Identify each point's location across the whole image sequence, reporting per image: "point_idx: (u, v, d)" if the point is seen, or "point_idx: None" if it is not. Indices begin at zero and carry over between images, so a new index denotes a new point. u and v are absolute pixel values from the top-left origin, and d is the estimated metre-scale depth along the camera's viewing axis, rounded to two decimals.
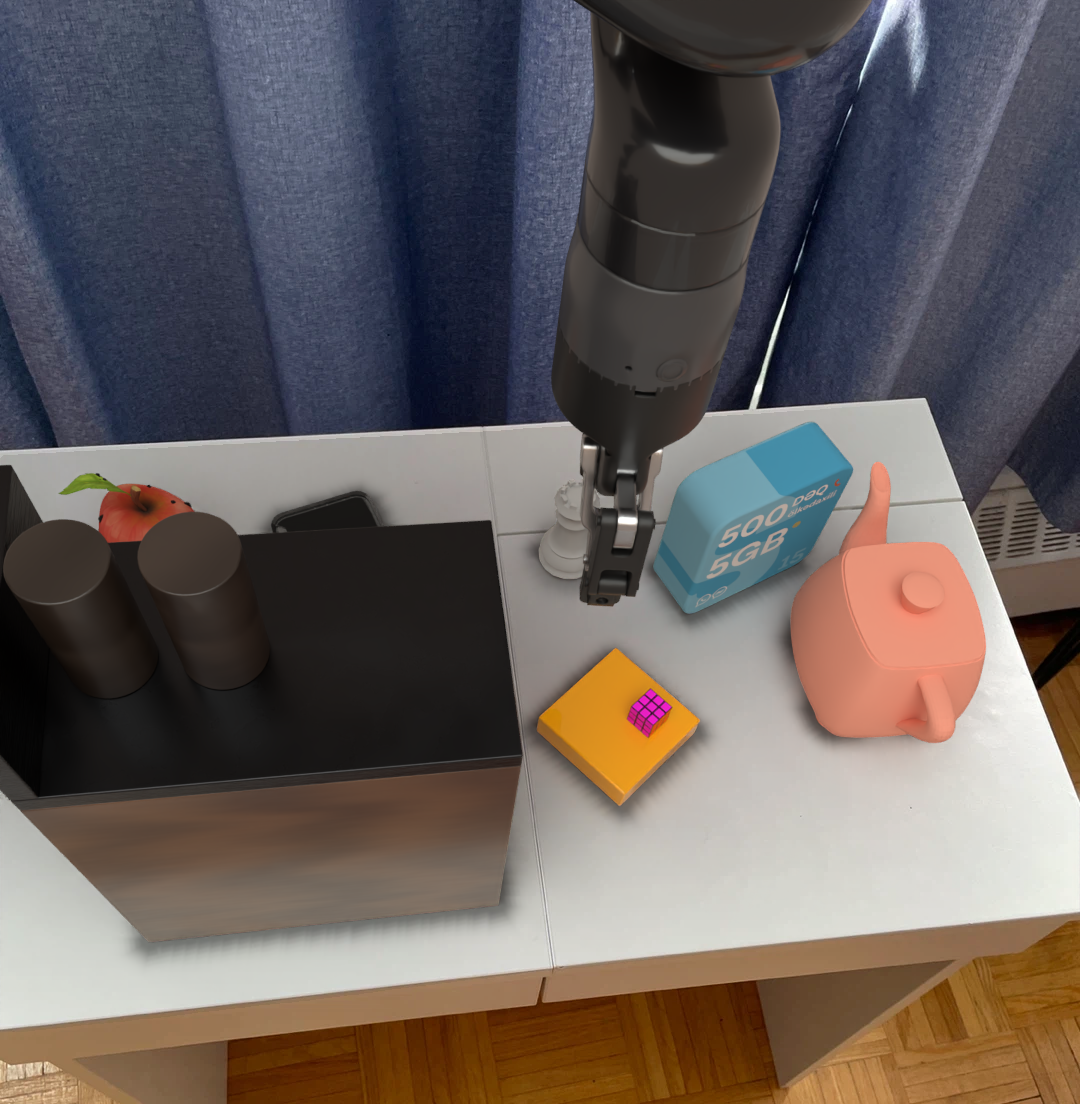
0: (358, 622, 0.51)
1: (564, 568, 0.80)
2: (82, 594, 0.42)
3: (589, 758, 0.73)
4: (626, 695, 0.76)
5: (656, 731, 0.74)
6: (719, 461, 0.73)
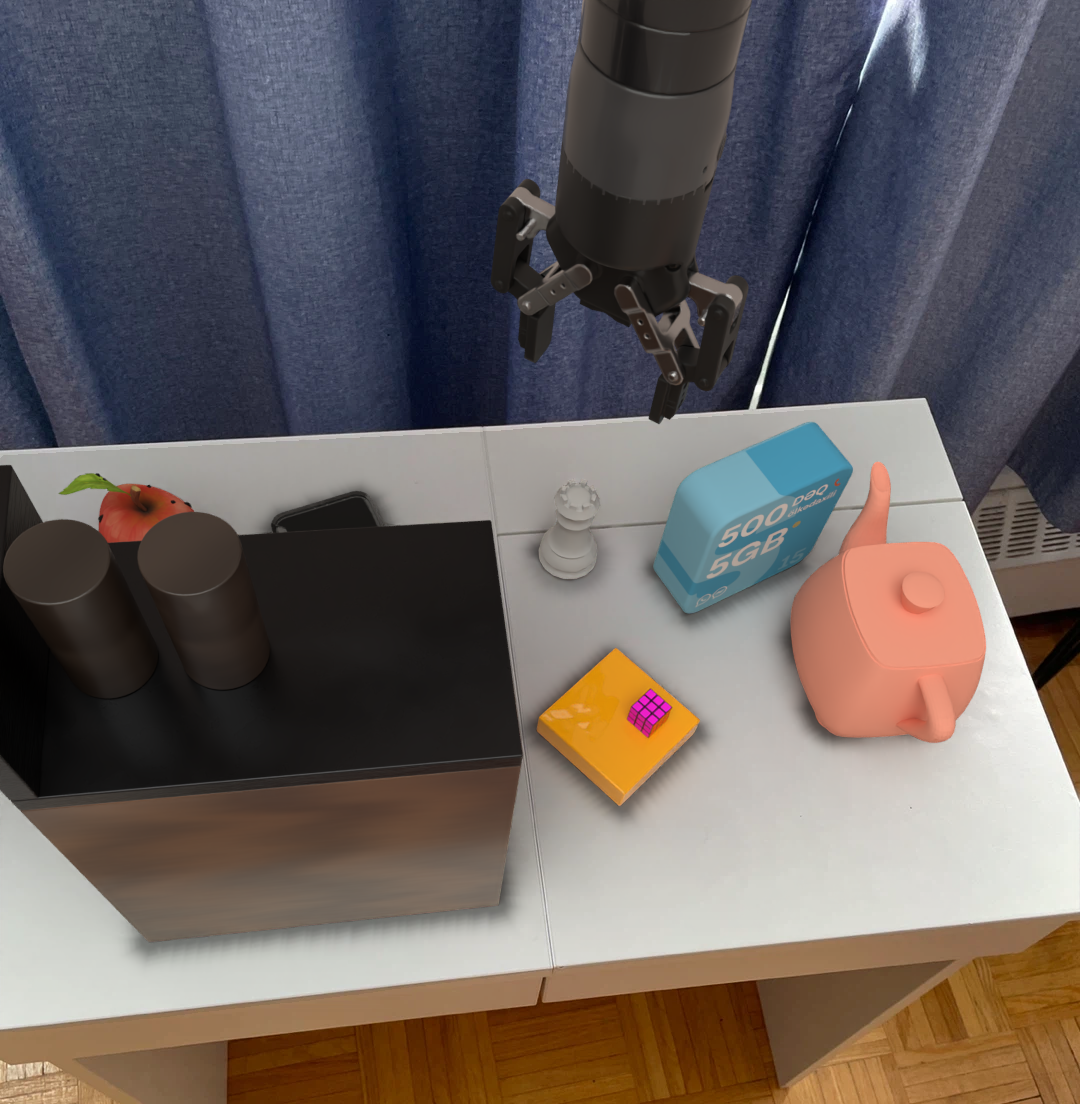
0: (358, 622, 0.51)
1: (564, 568, 0.80)
2: (82, 594, 0.42)
3: (589, 758, 0.73)
4: (625, 695, 0.76)
5: (656, 731, 0.74)
6: (719, 461, 0.73)
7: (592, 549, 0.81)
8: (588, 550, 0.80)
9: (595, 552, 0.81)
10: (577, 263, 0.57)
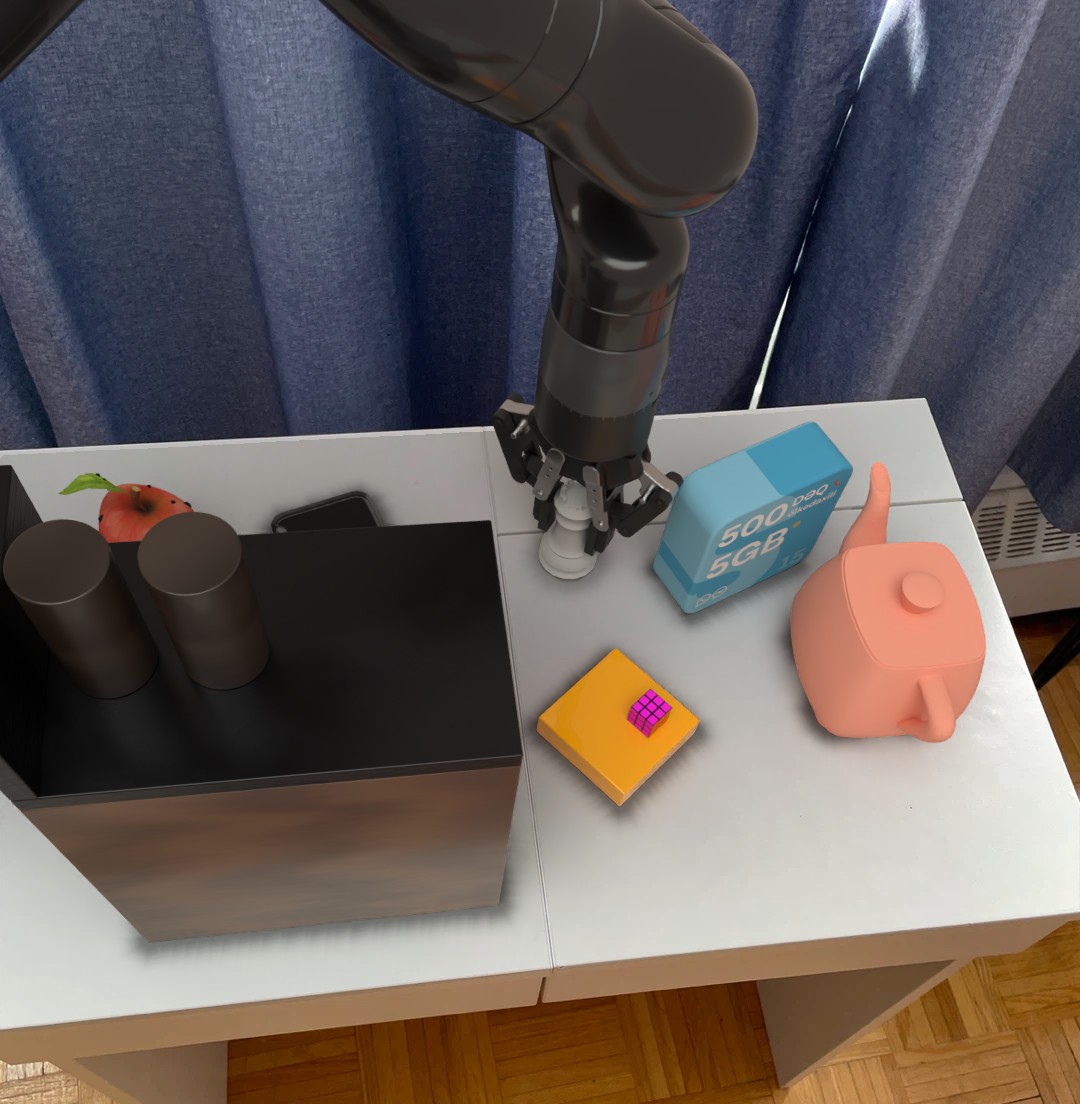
0: (358, 622, 0.51)
1: (564, 568, 0.80)
2: (82, 594, 0.42)
3: (589, 758, 0.73)
4: (625, 695, 0.76)
5: (656, 731, 0.74)
6: (719, 461, 0.73)
7: None
8: None
9: None
10: (552, 447, 0.70)
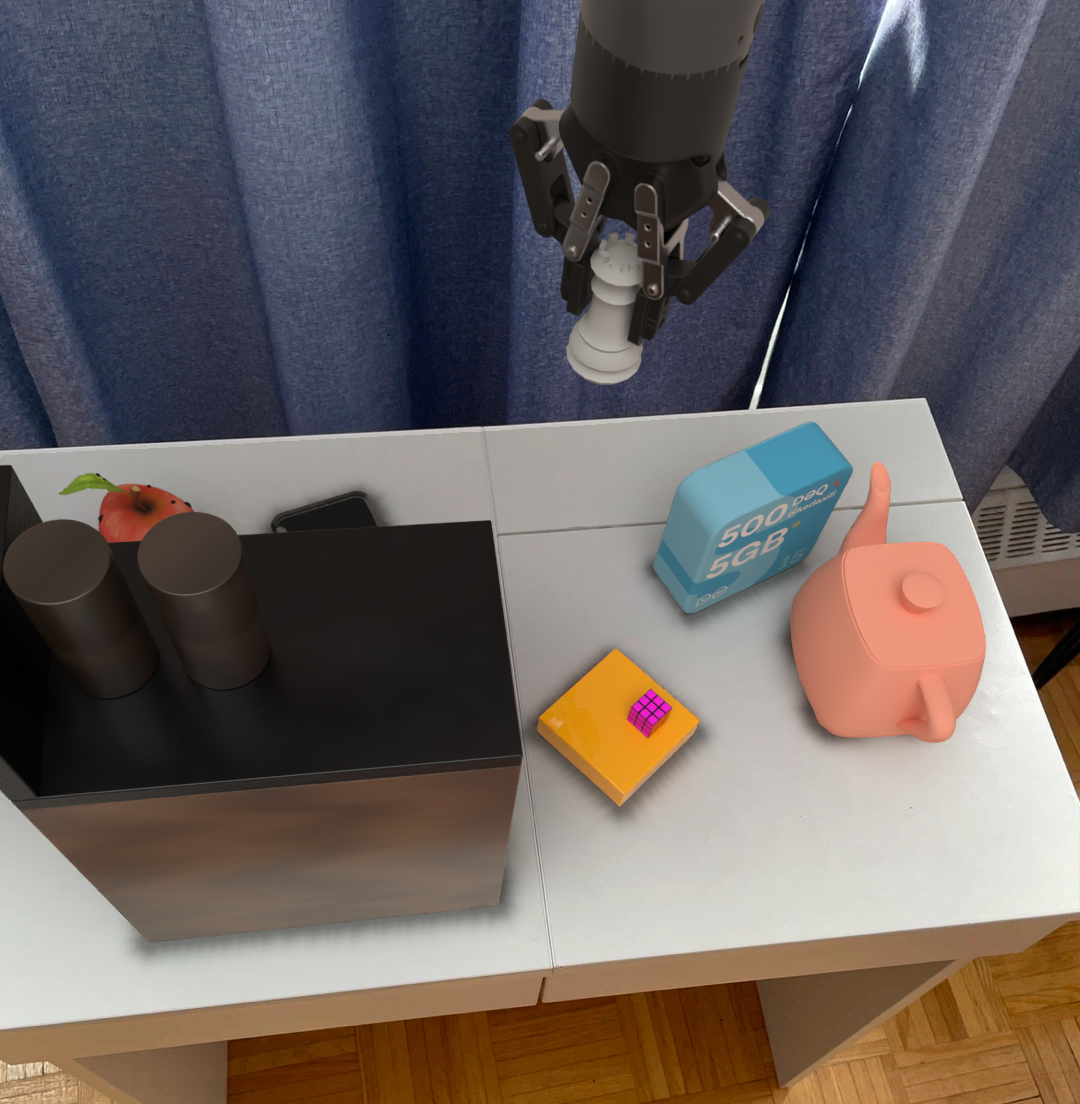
0: (358, 622, 0.51)
1: (601, 366, 0.62)
2: (82, 594, 0.42)
3: (589, 758, 0.73)
4: (625, 695, 0.76)
5: (656, 731, 0.74)
6: (719, 461, 0.73)
7: None
8: None
9: (641, 347, 0.63)
10: (593, 160, 0.51)
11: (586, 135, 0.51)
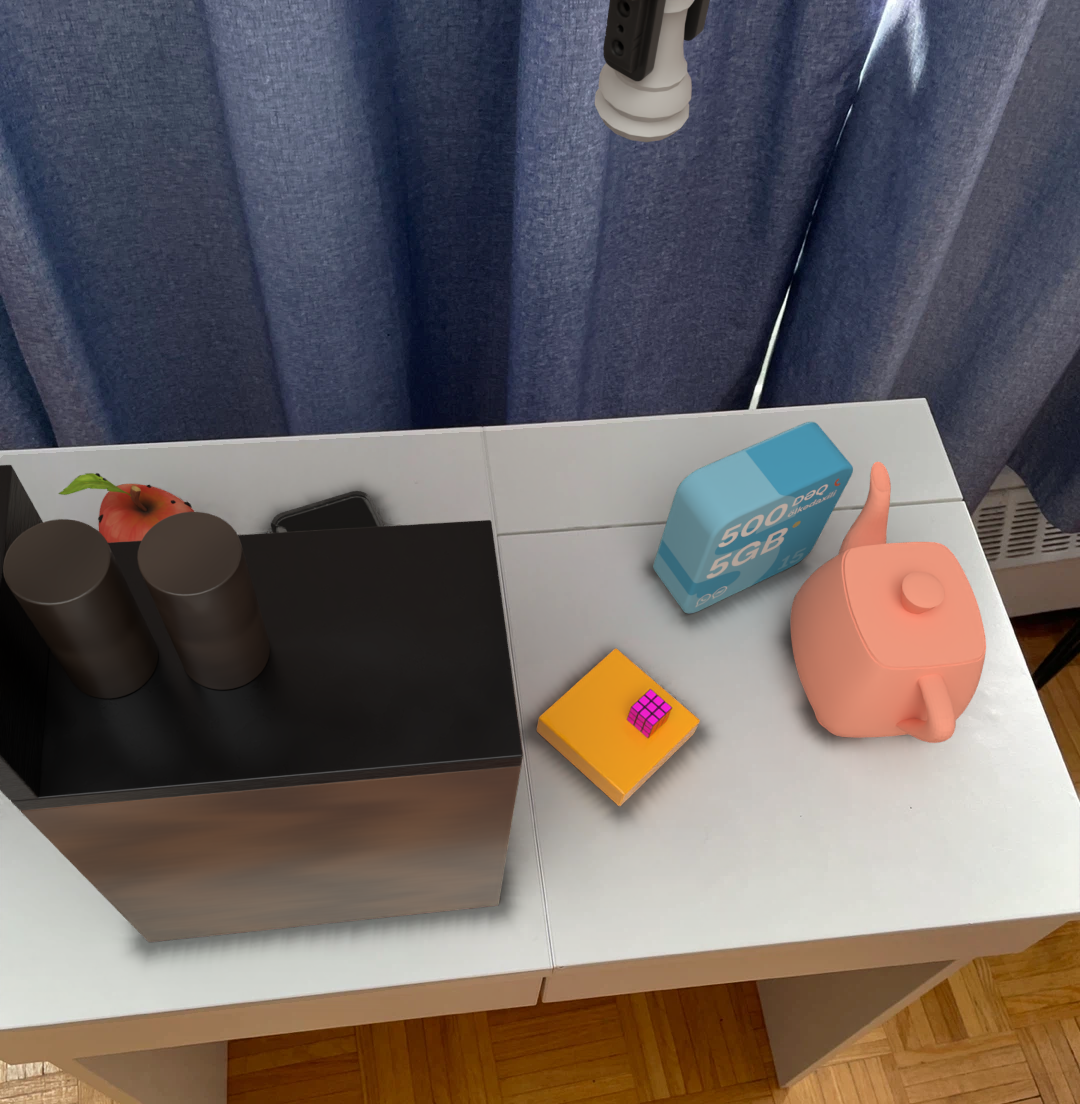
0: (358, 622, 0.51)
1: (690, 94, 0.49)
2: (82, 594, 0.42)
3: (589, 758, 0.73)
4: (625, 695, 0.76)
5: (656, 731, 0.74)
6: (719, 461, 0.73)
7: None
8: None
9: None
10: None
11: None
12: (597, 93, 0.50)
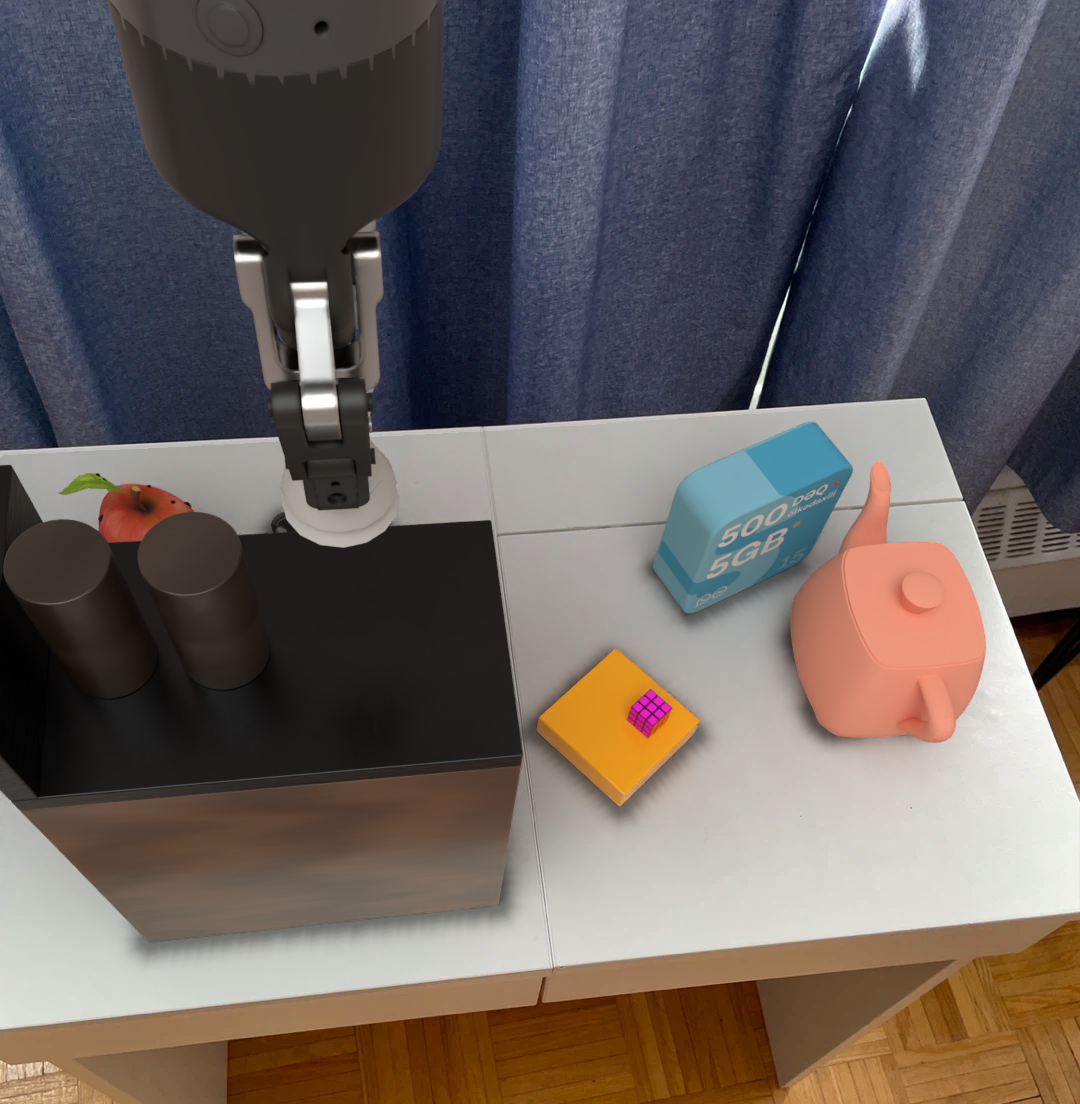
0: (358, 622, 0.51)
1: (389, 462, 0.41)
2: (82, 594, 0.42)
3: (589, 758, 0.73)
4: (625, 695, 0.76)
5: (656, 732, 0.74)
6: (719, 461, 0.73)
7: None
8: None
9: None
10: (375, 252, 0.30)
11: None
12: (291, 521, 0.41)
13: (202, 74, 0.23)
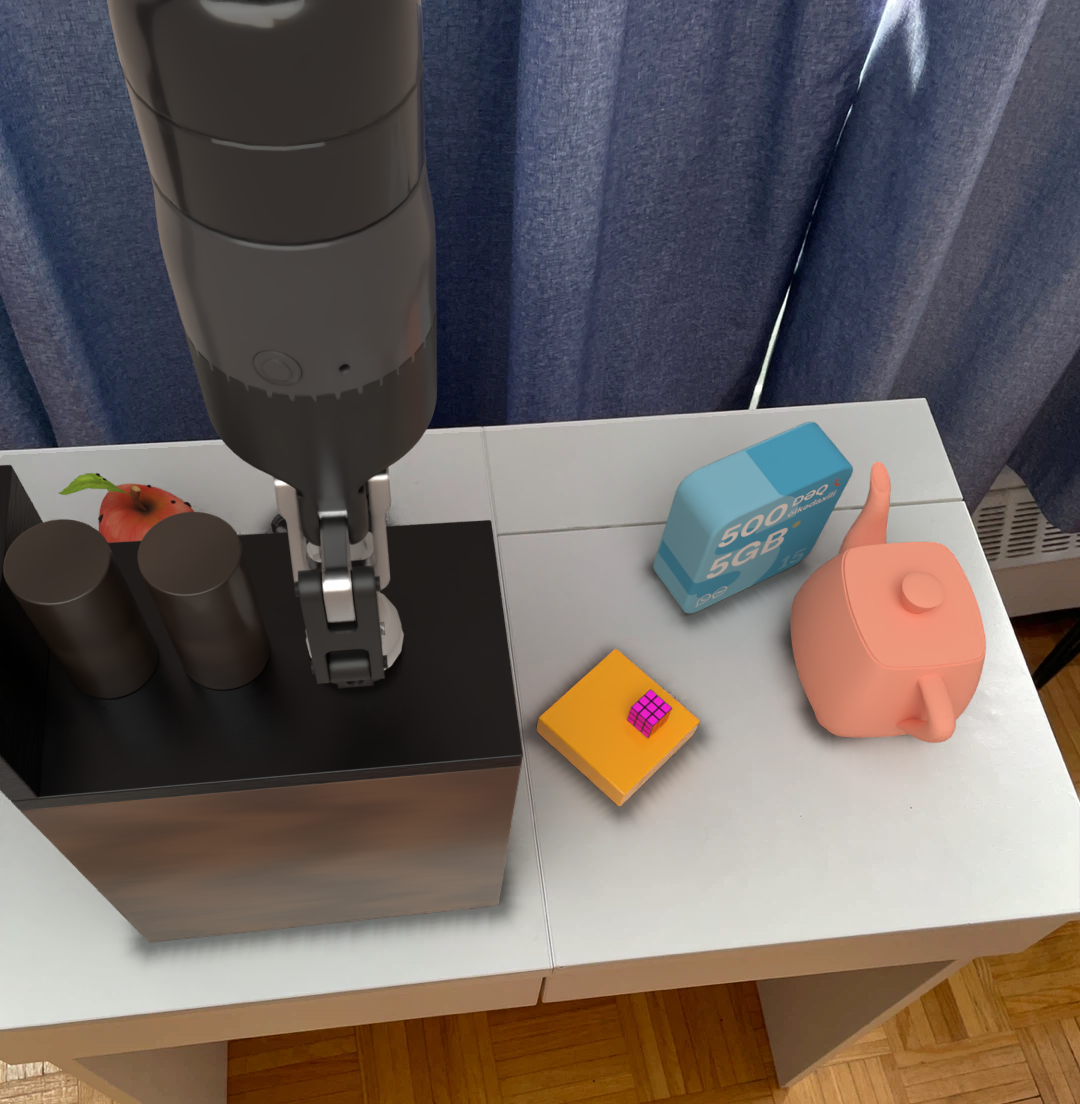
0: None
1: (395, 609, 0.50)
2: (82, 594, 0.42)
3: (589, 758, 0.73)
4: (625, 696, 0.76)
5: (656, 732, 0.74)
6: (719, 461, 0.73)
7: None
8: None
9: None
10: (384, 477, 0.38)
11: None
12: None
13: (256, 393, 0.31)
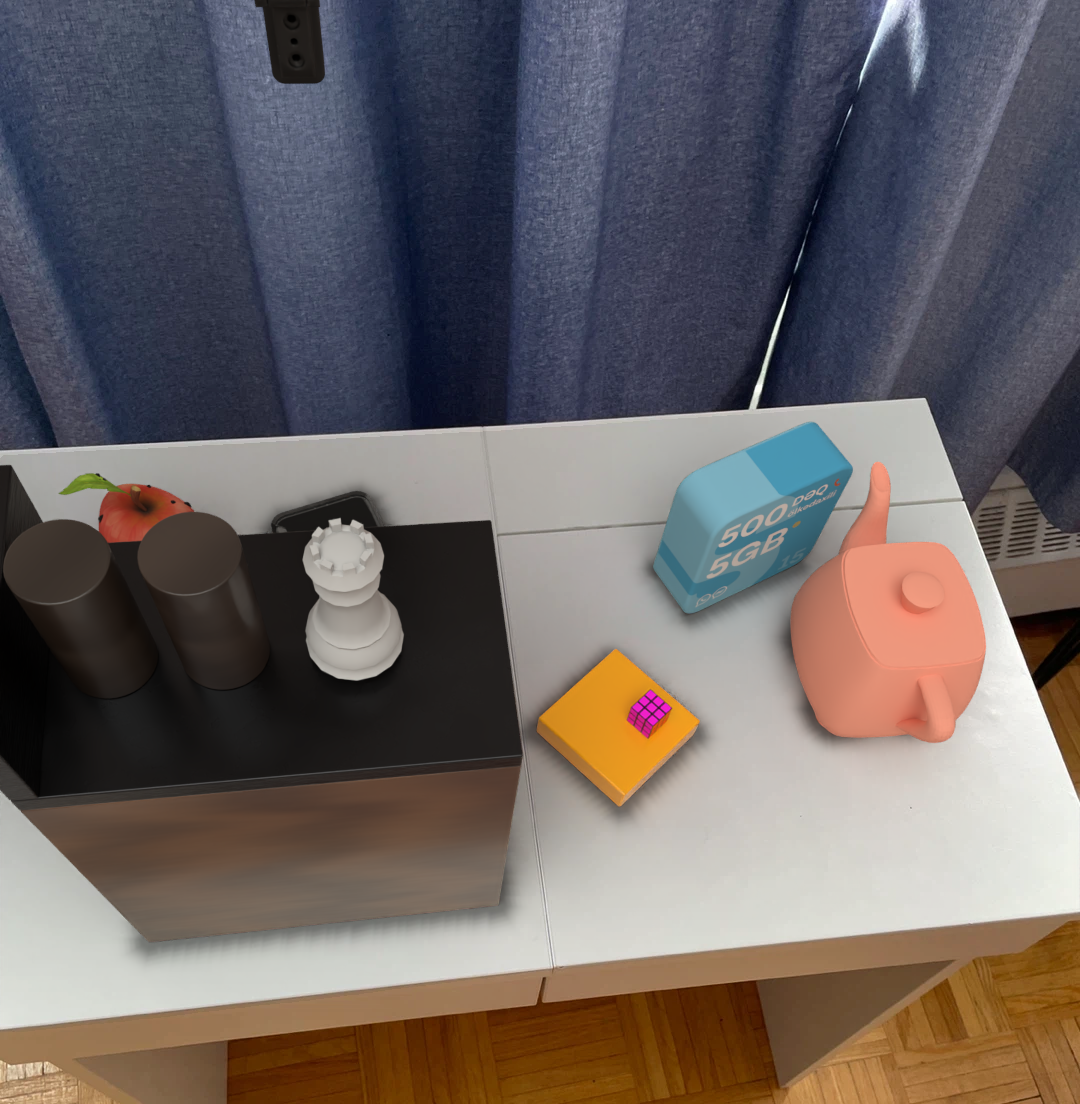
0: None
1: (395, 609, 0.50)
2: (82, 594, 0.42)
3: (589, 759, 0.73)
4: (625, 696, 0.75)
5: (656, 732, 0.74)
6: (719, 461, 0.73)
7: None
8: None
9: None
10: None
11: None
12: (314, 657, 0.50)
13: None
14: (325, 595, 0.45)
